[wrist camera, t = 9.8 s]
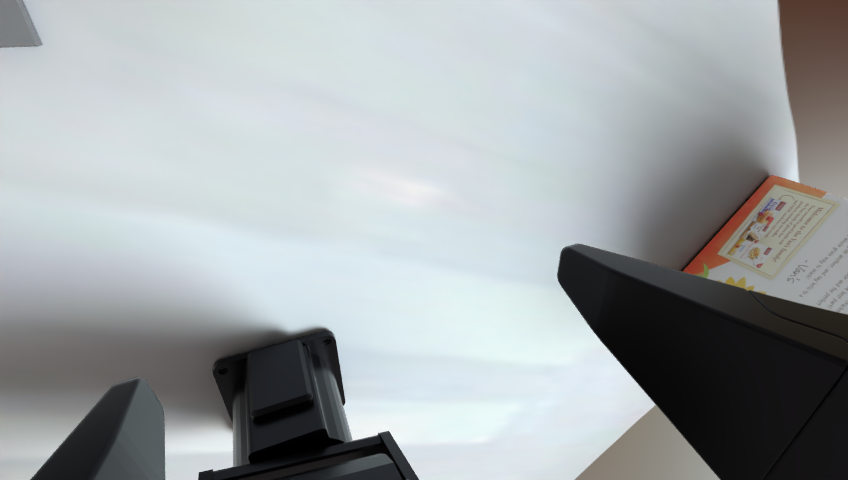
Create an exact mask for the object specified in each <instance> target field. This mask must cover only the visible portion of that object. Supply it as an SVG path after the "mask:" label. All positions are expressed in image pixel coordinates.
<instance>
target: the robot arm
mask: <svg viewBox="0 0 848 480" xmlns="http://www.w3.org/2000/svg"><path fill="white" fill-rule="evenodd" d="M557 277H558V281H559V283H560V285H561V287H562V288H563V289H564V291H565V292H566V294H567V295H568V297H569V298H570V299H571V301H572V302H573V304H574V305H575V307H576V308H577V309H578V311H579V312H580V314H581V315H582V316H583V318H584V319H585V321H586V322H587V324H588V325H589V326H590V328H591V329H592V330H593V332H594V333H595V334H596V336H597V337H598V338H599V339H600V340H601V342H602V343H603V344H604V345H605V346H606V347H607V349H608V350H609V351H610V352H611V353H612V354H613V356H614V357H615V358H616V359H617V360H618V361H619V362H620V364H621V365H622V366H623V367H624V368H625V369H626V371H627V372H628V373H629V374H630V375H631V376H632V378H633V379H634V380H635V381H636V382H637V383H638V385H639V386H640V387H641V388H642V389H643V390H644V392H645V393H646V394H647V395H648V396H649V397H650V399H651V400H652V401H653V402H654V403H655V404H656V405H657V407H658V408H659V409H660V410H661V411H662V412H663V414H664V415H665V416H666V417H667V418H668V419H669V421H670V422H671V423H672V424H673V425H674V426H675V428H676V429H677V430H678V431H679V432H680V433H681V435H682V436H683V437H684V438H685V439H686V440H687V441H688V443H689V444H690V445H691V446H692V447H693V448H694V450H695V451H696V452H697V453H698V454H699V455H700V456H701V458H702V459H703V460H704V461H705V462H706V464H707V465H708V466H709V467H710V468H711V469H712V471H713V472H714V473H715V474H716V475H717V476H718V478H719V479H720V480H848V314H844V313H839V312H835V311H831V310H826V309H822V308H818V307H814V306H809V305H805V304H801V303H797V302H793V301H789V300H786V299H782V298H778V297H774V296H770V295H766V294H763V293H759V292H756V291H752V290H748V291H747V290H746V289H744V288H741V287H737V286H733V285H730V284H726V283H722V282H719V281H715V280H711V279H708V278H704V277H700V276H697V275H693V274H689V273H686V272H682V271H678V270H675V269H671V268H667V267H664V266H660V265H656V264H653V263H649V262H645V261H642V260H638V259H634V258H631V257H627V256H623V255H620V254H616V253H612V252H609V251H605V250H601V249H598V248H594V247H590V246H587V245H583V244H574V245H570V246H567V247H565V248H563V249H562V251H561V254H560V260H559V267H558V273H557ZM325 339H328V340H327V341H324V340H325ZM221 368H226V369H221ZM213 375H214V378H215V380H216V383H217V385H218V388H219V390H220V393H221V395H222V398H223V400H224V403H225V405H226V408H227V410H228V413H229V415H230V418H231V421H232V423H233V467H231V468H227V469H222V470H218V471H213V469H212V470H208V471H203V472H199V478H198V480H419V479H418V477H417V476H416V474H415V472H414V471H413V469H412V468H411V466H410V464H409V463H408V461H407V459H406V458H405V456H404V455H403V453H402V451H401V450H400V448H399V447H398V445H397V443H396V442H395V440H394V439H393V437H392V435H391V434H390V432H389V431H386V432H382V433H378V435H377V436H372V437H368V438H363V439H359V440H354V441H353V440H352V437H351V433H350V429H349V426H348V422H347V419H346V415H345V411H344V408H343V406H344V404H345V397H344V390H343V384H342V378H341V371H340V365H339V359H338V352H337V346H336V340H335V336H334V334H333V333H332V332H331V331H323V332H320V333H316V334H312V335H309V336H305V337H301V338H297V339H294V340H290V341H286V342H283V343H279V344H275V345H272V346H268V347H264V348H261V349H257V350H253V351H249V352H246V353H242V354H238V355H235V356H231V357H227V358H224V359H220V360H218V361H216V362H215V363H214V365H213ZM31 480H165V433H164V412H163V408H162V406H161V404H160V402H159V400H158V399H157V397H156V396H155V394H154V393H153V391H152V389H151V388H150V386H149V385H148V383H147V382H146V380H145V379H143V378H141V377H136V378H133V379H129V380H126V381H123V382H120V383H117V384H115V385H113V386H112V387H111V388H110V389H109V390H108V391H107V393H106V394H105V395H104V396H103V397H102V398H101V399H100V401H99V402H98V403H97V404H96V405H95V406H94V407H93V409H92V410H91V411H90V412H89V413H88V414H87V415H86V417H85V418H84V419H83V420H82V421H81V422H80V423H79V425H78V426H77V427H76V428H75V429H74V430H73V431H72V433H71V434H70V435H69V436H68V437H67V438H66V440H65V441H64V442H63V443H62V444H61V445H60V446H59V448H58V449H57V450H56V451H55V452H54V453H53V454H52V456H51V457H50V458H49V459H48V460H47V461H46V462H45V464H44V465H43V466H42V467H41V468H40V469H39V470H38V472H37V473H36V474H35V475H34V476H33V477H32V478H31Z"/></svg>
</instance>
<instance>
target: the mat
mask: <svg viewBox="0 0 848 480" xmlns="http://www.w3.org/2000/svg"><path fill="white" fill-rule="evenodd" d="M40 45H42V43H41V40H40V38H39V36H38V34H37V31H36V29H35V27H34V25H33V22H32V20H31V18H30V16H29V13H28V11H27V9H26V7H25V4H24V2H23V0H0V48H2V47H30V46H40Z"/></svg>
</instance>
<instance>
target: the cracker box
mask: <svg viewBox="0 0 848 480" xmlns="http://www.w3.org/2000/svg"><path fill="white" fill-rule="evenodd" d="M682 272H686V273H689V274H693V275H697V276H700V277H704V278H708V279H711V280H715V281H719V282H722V283H726V284H730V285H733V286H737V287H741V288H744V289H746V290H747V291H748V290H752V291H756V292H759V293H763V294H766V295H770V296H774V297H778V298H782V299H786V300H789V301H793V302H797V303H801V304H805V305H809V306H814V307H818V308H822V309H826V310H831V311H835V312H839V313H844V314H848V199H846V198H843V197H840V196H837V195H834V194H831V193H828V192H824V191H821V190H818V189H816V188H812V187H809V186H806V185H803V184H800V183H797V182H794V181H791V180H788V179H784V178H781V177H778V176H774V175H771V176H770V177H768V178H767V180H766V181H765V182H764V183H763V184H762V185H761V186H760V187H759V188H758V190H757V191H756V192H755V193H754V194H753V195H752V196H751V197H750V198H749V199H748V201H747V202H746V203H745V204H744V205H743V206H742V207H741V208H740V209H739V210H738V211H737V212H736V214H735V215H734V216H733V217H732V218H731V219H730V220H729V221H728V222H727V223H726V224H725V226H724V227H723V228H722V229H721V230H720V231H719V232H718V233H717V234H716V235H715V237H714V238H713V239H712V240H711V241H710V242H709V243H708V244H707V245H706V246H705V247H704V249H703V250H702V251H701V252H700V253H699V254H698V255H697V256H696V257H695V258H694V259H693V261H692V262H691V263H690V264H689V265H688V266H687V267H686V268H685V269H684V270H683V271H682Z"/></svg>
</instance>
